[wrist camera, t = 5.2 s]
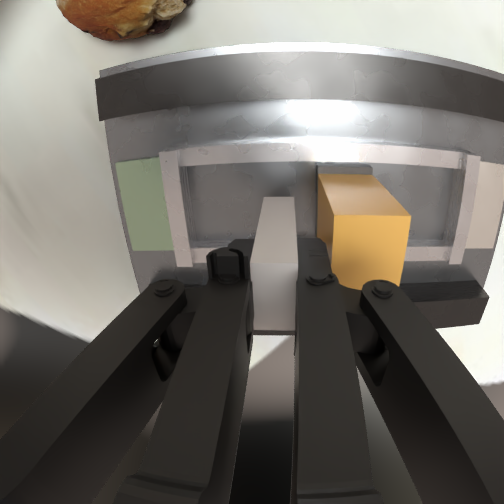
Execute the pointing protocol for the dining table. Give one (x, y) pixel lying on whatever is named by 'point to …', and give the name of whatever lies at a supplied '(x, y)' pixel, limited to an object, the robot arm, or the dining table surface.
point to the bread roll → (121, 16)
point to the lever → (360, 225)
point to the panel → (308, 156)
